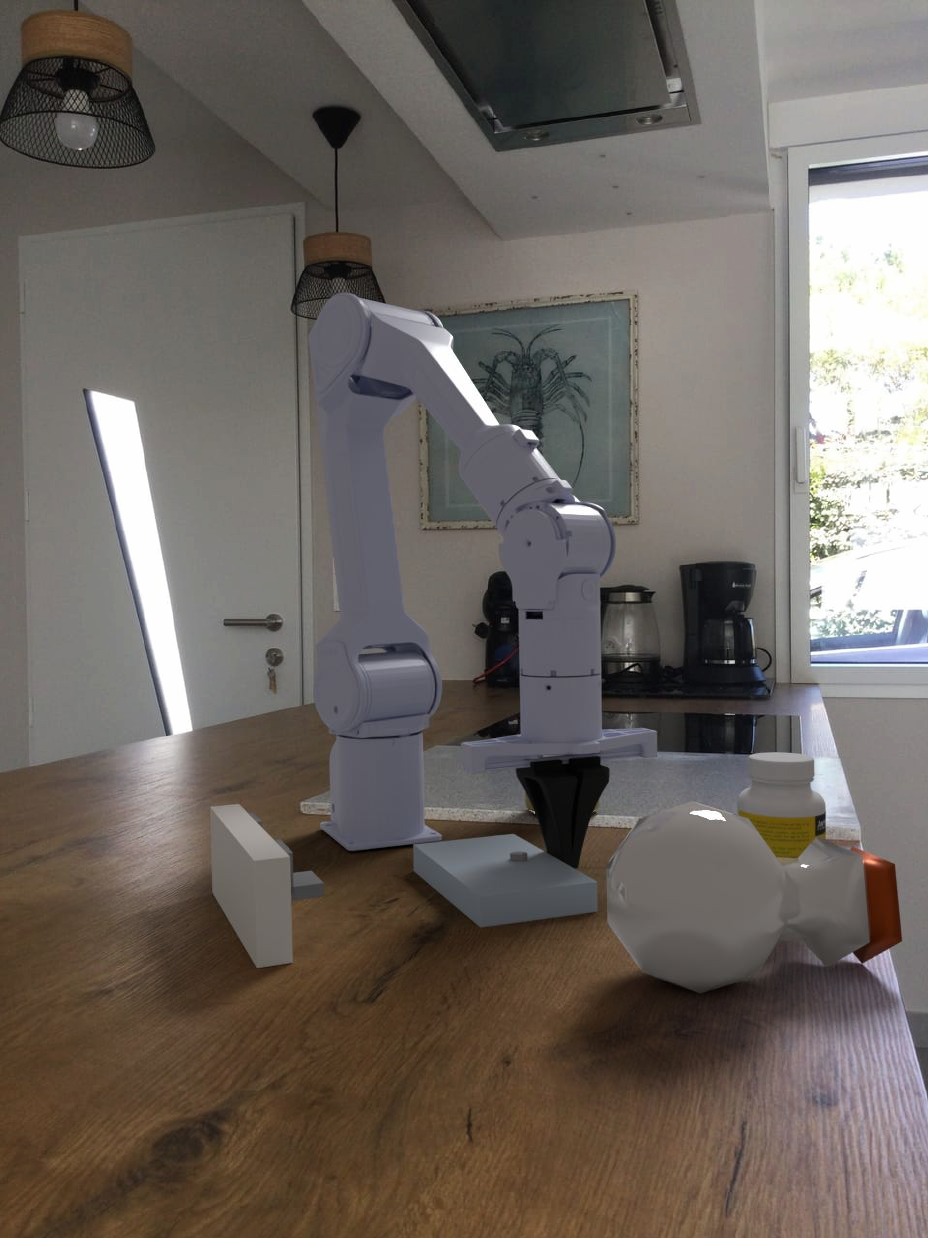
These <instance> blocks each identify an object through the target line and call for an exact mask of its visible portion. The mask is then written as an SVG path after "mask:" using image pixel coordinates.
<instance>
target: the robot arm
mask: <svg viewBox="0 0 928 1238" xmlns="http://www.w3.org/2000/svg"><path fill="white" fill-rule="evenodd" d="M307 338H308V346H309V355H310V365H311V373H312V381H313V382H312V383H313V390H314V400H315V403H316V404H317V424H318V425H317V426H318V432H319V433H318V434H319V441H320V443H319V444H320V451H321V458H322V467H323V470H322V471H323V478H324V487H325V488H324V489H325V495H326V497H325V498H326V504H327V512H328V513H327V514H328V521H329V529H330V530H329V531H330V532H329V533H330V539H331V547H332V557H333V563H334V575H335V583H336V591H337V601H338V608H339V609H338V610H339V616H340V619H339V620H338V621H337V622H336V623H335V624H334V625H333V626H332V627H331V628H330V629H329V630H328V631H327V632H326V633H325V634H324V635H323V636H322V637H321V638H320V639H319V641H318V642H317V643H316V644H315V652H316V669H315V670H316V671H315V676H314V680H313V685H312V686H313V688H312V689H313V691H312V692H313V693H312V695H313V700H314V705H315V708H316V711H317V712H318V715H319V718H320V719H321V721H322V722H323V723H324V724H325V726H327V728H328V734H330V735H336V737H335V738H336V740H335V742H334V743H333V746H332V748H331V750H330V754H329V791H330V792H329V793H330V796H329V797H330V799H329V800H330V820H329V821H322V822H320V823H319V828H320V829H321V830H323V831H324V832H325V833H326V834H327V835H329V836H330V837H331V838H332V839H334V840H335V841H336V842H337V843H338V844H340V845H341V846H342V847H344V848H345V849H346V850H347V851H351V852H354V851H364V850H371V849H379V848H387V847H388V848H389V847H397V846H405V845H406V846H407V845H413V844H423V843H432V842H441V841H442V837H443V836H442V834H441V833H439V832H438V831H437V830H434V829H433V828H432V827H429V826H428V825H426V824H425V787H424V786H425V783H424V782H425V781H424V779H425V778H424V741H423V740H424V736H423V733H424V732H423V730H426V729H429V728H430V718H431V717H432V716H433V715H434V714H435V713H436V712H437V710H438V708H439V706H440V703H441V699H442V695H443V679H442V675H441V671H440V669H439V666H438V664H437V662H436V660H435V658H434V656H433V654H432V651H431V645H430V637H429V634H428V632H427V631H426V630H425V629H424V628H423V626H421V625H419V623H417V621H415V620H414V619H413V618H412V617H411V616H409V614H408V613H407V612H406V611H405V603H404V595H403V587H402V579H401V572H400V571H401V570H400V561H399V553H398V546H397V545H398V543H397V537H396V527H395V518H394V511H393V503H392V501H393V500H392V493H391V486H390V485H391V484H390V477H389V469H388V459H387V453H386V452H387V451H386V443H385V436H384V430H385V427H386V426H387V424H388V423H389V422H390V420H391V419H393V418H395V417H397V416H400V415H401V414H402V413H403V412H404V410H406V408H408V406H410V405H411V404H412V402H413V401H415V399H417V400H418V401H419V402H420V404H422V406H423V407H424V408H425V410H426V411H427V412H428V413H429V414H430V416H432V418H433V419H434V420H435V421H436V422H437V424H438V425H439V426H440V427H441V428H442V430H443V431H444V432H445V433H446V435H447V436H448V437H449V438H450V440H452V442H453V443H454V444H455V445H456V446H457V448H458V449H459V450H460V451H461V452H460V456H459V461H458V474H459V477H460V478H461V479H462V481H463V482H464V483H465V485H466V486H467V488H468V489H469V491H470V492H471V493H472V495H473V496H474V498H475V499H476V501H477V502H478V503H479V504H480V506H481V507H482V509H483V511H484V512H485V513H486V515H487V516H488V518H489V519H490V520H491V522H492V523H493V524H494V527H495V528H496V529H497V530H498V532H499V534H500V536H502V538H503V542H502V543H499V544H497V545H498V555H499V559H500V563H501V565H502V568H503V570H504V572H505V573H506V575H507V577H508V578H509V579H510V583H511V587H512V602H515V606H516V607H515V608H517V609H518V645H519V646H518V649H519V650H518V651H519V653H518V654H519V656H518V657H519V659H518V660H519V697H520V698H519V702H520V704H519V705H520V706H519V708H520V711H519V713H520V734H515V735H514V734H513V735H507V736H502V737H501V736H500V737H496V738H490V739H482V740H474V741H463V742H461V743H460V751H461V752H460V754H461V755H460V760H461V762H460V763H461V764H460V765H461V767H460V768H461V770H462V771H463V772H466V773H469V774H470V775H479V774H480V775H481V774H485V773H486V772H489V771H490V772H491V771H501V770H510V769H511V770H513V769H515V774H516V778H517V779H518V782H520V784H521V786H522V788H523V790H524V792H526V794H527V796H528V798H529V800H530V802H531V804H532V807H533V809H534V811H535V814H536V815H535V814H534V815H535V816H536V819H537V821H538V824H539V825H538V826H539V828H540V831H541V834H542V838H543V842H544V845H545V849H546V853H548V854H550V855H551V856H553V857H555V858H557V859H558V860H560V861H562V862H564V863H565V864H567V865H569V866H571V867H572V868H574V869H576V870H577V869H578V868H579V865H580V861H581V855H582V851H583V847H584V843H585V838H586V835H587V832H588V828H589V824H590V822H591V819H592V817H593V814H594V813H593V811H594V809H595V807H596V804H597V802H598V800H599V801H600V798H601V797H602V795H603V792H604V791H605V789H606V787H607V785H608V784H609V782H610V774H611V773H610V767H608V766H607V765H603V764H601V763H602V761H610V760H618V759H619V760H621V759H622V760H623V759H630V758H632V759H633V758H643V759H652V758H657V757H658V731H657V730H654V729H649V728H644V727H639V728H638V727H636V728H615V729H614V728H613V729H612V728H611V729H610V728H609V729H603V717H602V715H603V714H602V713H603V711H602V710H603V709H602V705H603V704H602V647H601V646H602V643H601V641H602V638H601V637H602V635H601V632H602V631H601V627H602V626H601V579H602V578H603V576H605V575H606V574H607V572H608V571H609V569H610V568H611V567H612V565H613V562H614V559H615V557H616V556H615V555H616V550H617V538H616V533H615V530H614V527H613V524H612V522H611V520H610V519H609V518H608V515H607V512H606V510H605V509H604V508H603V507H601V505H598V504H596V503H592V502H589V501H588V502H587V501H580V500H579V499H578V498H577V497H576V496H575V495H573V494H572V493H573V492H574V491H573V490H574V489H573V487H572V486H571V484H569V482H568V481H567V480H565V479H560V477H559V476H558V474H557V473H556V472H555V471H554V469H553V467H552V466H551V465H550V464H549V462H548V461H547V460H546V459H545V457H544V456H543V455H542V454H541V452H540V451H539V450H538V448H537V447H538V446H539V444H540V439H539V438H538V437H537V436H536V434H535V433H534V432H533V430H529V429H522V428H521V427H520V426H518V425H515V424H508V423H506V424H505V423H504V424H500V423H499V422H498V420H497V419H496V417H495V416H494V414H493V413H492V410H491V409H490V408H489V406H488V405H487V403H486V401H485V400H484V398H483V397H482V395H481V393H480V392H479V391H478V389H477V387H476V386H475V384H474V382H473V381H472V380H471V378H470V376H469V375H468V373H467V371H466V370H465V369H464V367H463V365H462V363H461V362H460V360H459V359H458V357H457V355H456V354H455V353H454V336H453V335H452V334H451V333H450V332H449V331H448V330H447V329H446V328H444V326H443V323H442V321H441V320H440V319H439V318H438V317H437V316H436V315H435V314H433V312H430V311H427V310H420V309H418V310H414V309H410V308H406V307H401V306H398V305H393V304H388V303H383V302H380V301H375V300H372V299H371V300H370V299H366V298H363V297H358V296H357V295H355V294H354V293H350V292H339V293H336V294H334V295H332V296H331V297H330V298H329V299H328V300H327V301H326V303H324V305H323V307H322V308H321V310H320V312H319V314H318V316H317V318H316V320H315V322H314V325H313V326H312V329H311V330H310V332H309V334H308V337H307ZM368 649H369V650H372V649H373V650H374V649H379V650H383V651H384V652H372V653H361V651H362V650H368ZM565 754H573V755H565ZM543 755H562V756H551V757H543ZM525 758H528V759H525Z"/></svg>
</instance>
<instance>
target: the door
mask: <svg viewBox="0 0 928 1238" xmlns="http://www.w3.org/2000/svg"><path fill="white" fill-rule="evenodd" d="M412 846H413V847H412V848H413V849H412V850H413V852H412V853H413V854H412V855H413V856H412V857H413V872H414V873H415V874H417V875H418V876H419V877H420V878H421V879H423V880H424V881H425V882H426V883H427V884H429V886H431V887H432V888H433V889H435V891H437V892H438V893H439V894H440V895H442V896H443V897H444V898H445V899H446V900H447V901H448V902H449V903H450V904H452V905H454V907H456V908H457V909H458V910H459V911H460V912H462V913H463V915H464V916H466V917H467V918H468V919H470V920H471V921H472V922H473V923H474V924H476V925H477V926H478V927H479V928H486V927H488V928H489V927H496V926H503V925H508V924H517V923H523V922H533V921H537V920H538V921H539V920H546V919H552V918H553V919H554V918H560V917H568V916H574V915H575V916H576V915H582V914H589V913H597V912H599V911H598V910H599V909H598V907H599V906H598V881H596V880H595V879H593V878H592V877H590V876H588V875H586V874H585V873H582V872H581V871H579V870H577V869H574V868H572V867H571V866H569V865H567V864H565V863H564V862H562V861H560V860H558V859H557V858H555V857H553V856H551V855H550V854H548V853H547V851H544V850H543V849H541V848H539V847H537V846H536V845H535V844H532V843H531V842H528V841H527V840H525V839H523V838H521V837H520V836H518V835H517V834H515V833H510V834H509V833H508V834H499V835H490V836H481V837H480V836H479V837H470V838H463V839H462V838H461V839H451V840H443V841H442V840H440V841H433V842H424V843H416V844H412Z"/></svg>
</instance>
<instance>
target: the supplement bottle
mask: <svg viewBox="0 0 928 1238" xmlns="http://www.w3.org/2000/svg"><path fill="white" fill-rule="evenodd" d="M747 764H748V766H747V767H748V778H749V780H751V786H750V787H747V788H744V789H743V790H742V791H741V792H740V793H739V794H738V797H737V801H736V802H737V805H736V806H737V807H736V810H737V811H736V812H737V814H736V815H739V816H742V817H745V818H748V819H749V820H750V821H751V823H752V824H753V825H754V827H755V828H756V830H757V831H758V832H759V834H760V835H761V837H762V838H763V839H764V841H765V842H766V844H767V845H768V846H769V848H770V849H771V851H772V852H773V854H774V855H775V857H781V858H798V857H799V856H800V855H801V854H802V853H803V852H804V851H805V849H806V848H807V847H808V846H809V845H810V844H811V843H812V841H813V840H814V839H815V838H816V837H817V836H818V837H820V838H823V839H825V840H827V838H826V837H827V832H826V831H827V828H826V827H827V825H826V823H827V820H826V819H827V811H826V810H827V808H826V807H827V806H826V801H825V799H824V797H823V796H822V795H821V794H820V793H819V792H817V791H816V790H814V789H812V787H811V783H813V782H814V781H815V778H814V777H815V759H814V757H813V756H810V755H807V754H803V753H794V752H779V751H777V752H776V751H773V752H758V753H753V754H750V755H749V756H748V763H747Z"/></svg>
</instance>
